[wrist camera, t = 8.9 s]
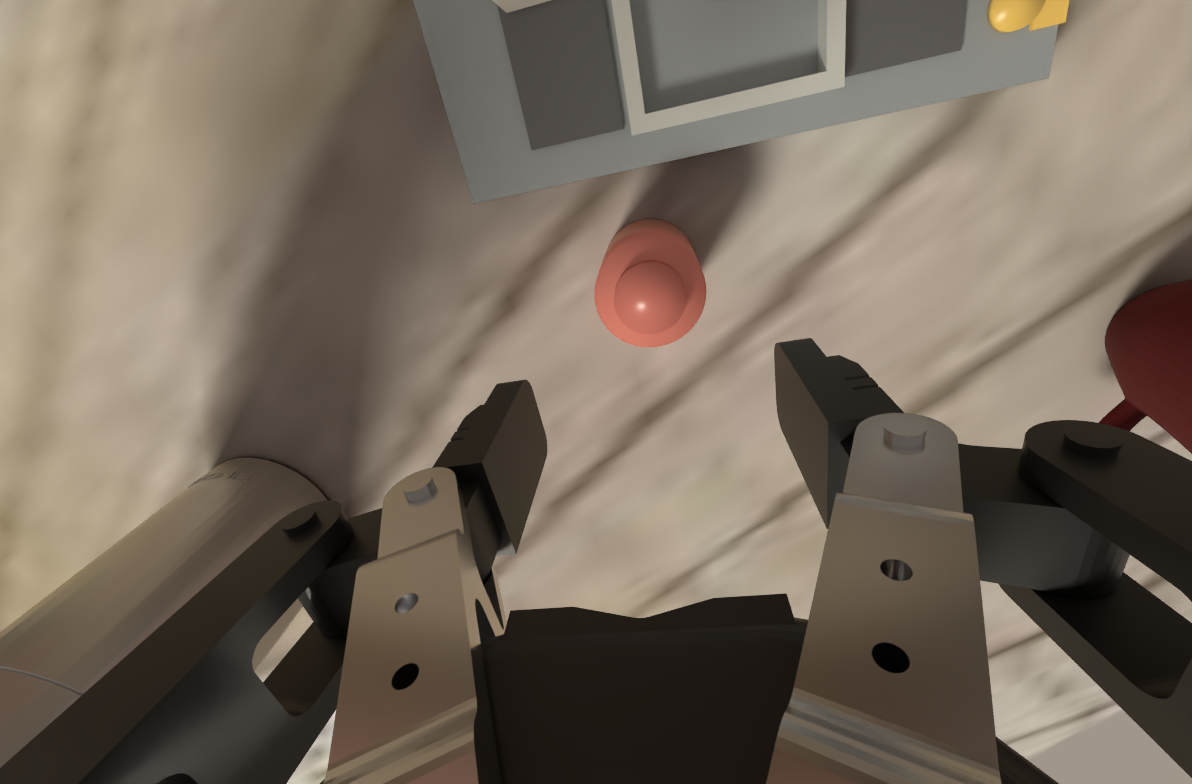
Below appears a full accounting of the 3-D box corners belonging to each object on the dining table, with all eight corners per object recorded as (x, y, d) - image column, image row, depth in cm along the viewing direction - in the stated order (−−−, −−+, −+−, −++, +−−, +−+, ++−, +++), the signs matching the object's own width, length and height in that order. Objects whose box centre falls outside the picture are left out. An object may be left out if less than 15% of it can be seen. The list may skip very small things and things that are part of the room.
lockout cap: (699, 301, 24) (713, 343, 19) (613, 316, 25) (604, 360, 20) (689, 210, 22) (701, 230, 17) (596, 228, 23) (582, 253, 18)
